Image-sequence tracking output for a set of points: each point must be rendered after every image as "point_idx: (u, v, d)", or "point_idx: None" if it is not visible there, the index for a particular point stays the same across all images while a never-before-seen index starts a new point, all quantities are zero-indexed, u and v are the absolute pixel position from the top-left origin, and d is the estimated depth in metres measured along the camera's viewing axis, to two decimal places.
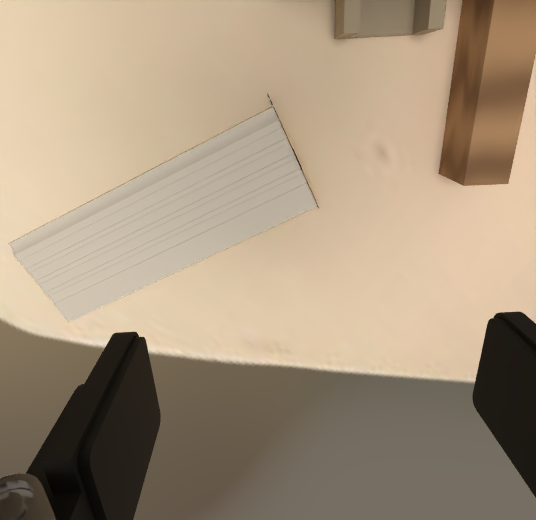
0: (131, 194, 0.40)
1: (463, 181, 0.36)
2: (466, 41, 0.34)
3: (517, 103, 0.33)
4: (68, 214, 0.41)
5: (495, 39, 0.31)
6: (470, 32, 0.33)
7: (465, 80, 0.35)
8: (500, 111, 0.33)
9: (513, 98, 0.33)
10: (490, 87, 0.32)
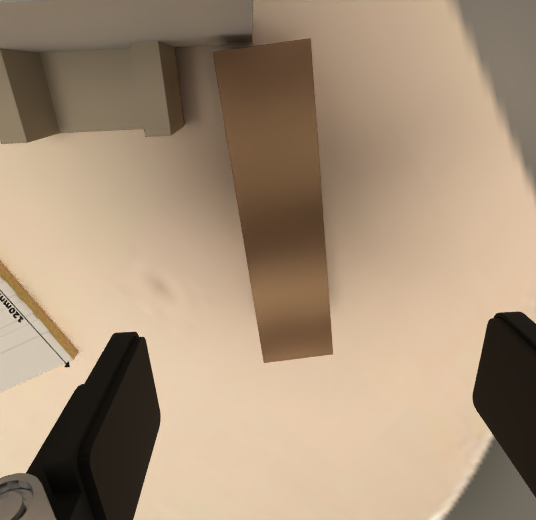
0: None
1: None
2: None
3: (312, 249, 0.20)
4: None
5: (243, 162, 0.18)
6: None
7: None
8: (288, 262, 0.20)
9: (303, 243, 0.20)
10: (259, 232, 0.20)
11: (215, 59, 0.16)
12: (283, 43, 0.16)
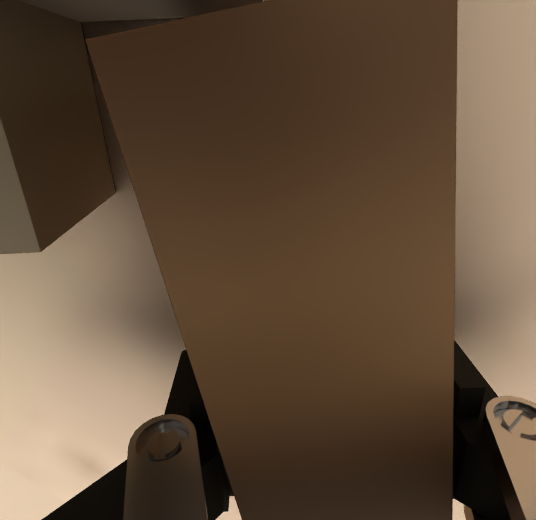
0: None
1: None
2: None
3: None
4: None
5: (229, 364, 0.06)
6: None
7: None
8: None
9: None
10: (283, 507, 0.07)
11: (99, 66, 0.04)
12: None
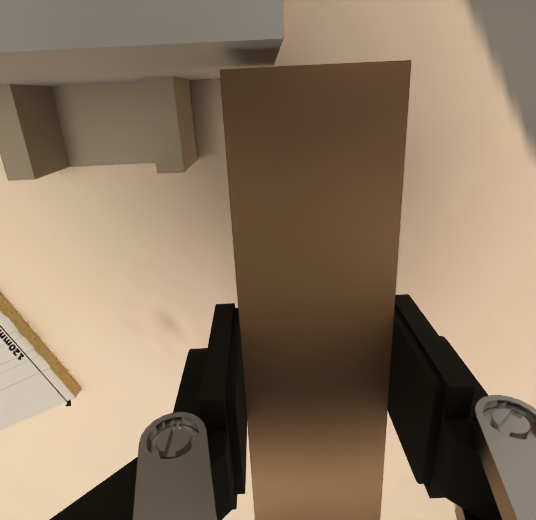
0: None
1: None
2: None
3: (364, 420, 0.11)
4: None
5: (259, 272, 0.10)
6: None
7: None
8: (320, 438, 0.12)
9: (350, 410, 0.11)
10: (275, 387, 0.11)
11: (223, 83, 0.08)
12: (358, 65, 0.08)
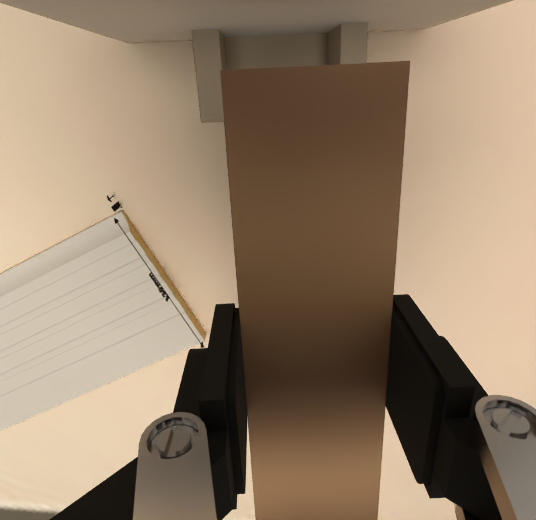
0: None
1: None
2: None
3: (363, 415, 0.12)
4: None
5: (259, 270, 0.10)
6: None
7: None
8: (319, 433, 0.12)
9: (348, 406, 0.11)
10: (275, 383, 0.11)
11: (224, 84, 0.08)
12: (357, 66, 0.08)
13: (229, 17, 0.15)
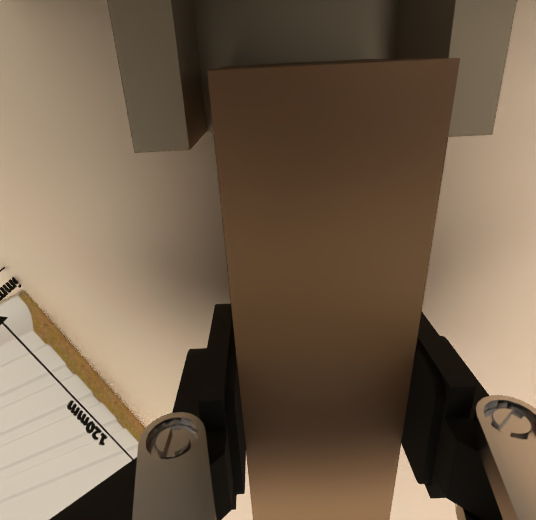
0: None
1: None
2: None
3: (375, 455, 0.10)
4: None
5: (259, 310, 0.08)
6: None
7: None
8: (326, 472, 0.11)
9: (359, 446, 0.10)
10: (277, 426, 0.10)
11: (213, 89, 0.06)
12: (390, 64, 0.06)
13: None
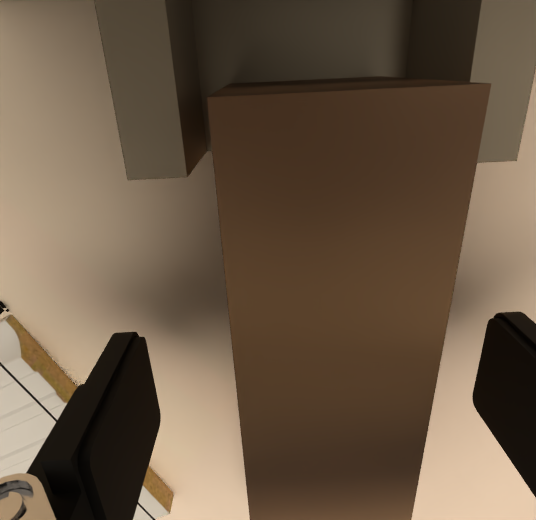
0: None
1: None
2: None
3: (388, 503, 0.10)
4: None
5: (263, 354, 0.08)
6: None
7: None
8: None
9: (371, 495, 0.09)
10: (282, 475, 0.09)
11: (213, 118, 0.06)
12: (413, 91, 0.06)
13: None
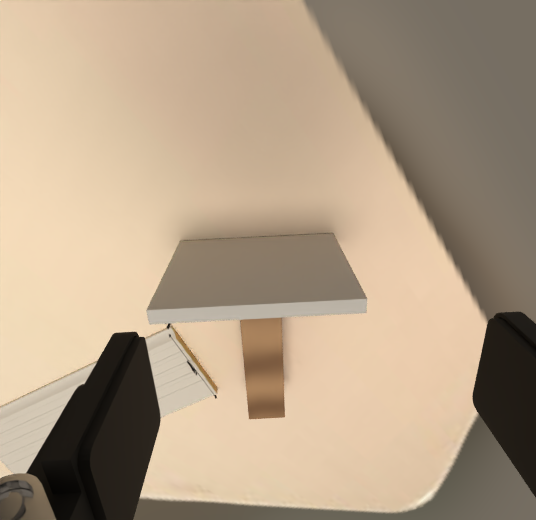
0: (62, 390, 0.48)
1: None
2: None
3: (277, 370, 0.42)
4: (12, 403, 0.49)
5: (247, 335, 0.39)
6: None
7: None
8: (265, 375, 0.42)
9: (272, 368, 0.41)
10: (252, 362, 0.41)
11: None
12: None
13: None
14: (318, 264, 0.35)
